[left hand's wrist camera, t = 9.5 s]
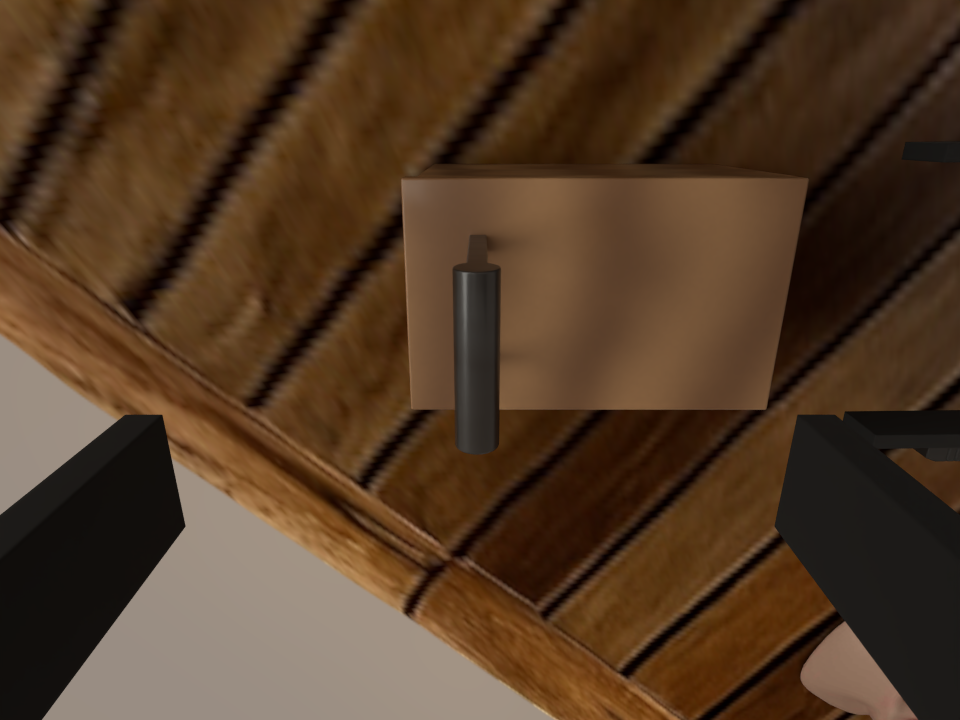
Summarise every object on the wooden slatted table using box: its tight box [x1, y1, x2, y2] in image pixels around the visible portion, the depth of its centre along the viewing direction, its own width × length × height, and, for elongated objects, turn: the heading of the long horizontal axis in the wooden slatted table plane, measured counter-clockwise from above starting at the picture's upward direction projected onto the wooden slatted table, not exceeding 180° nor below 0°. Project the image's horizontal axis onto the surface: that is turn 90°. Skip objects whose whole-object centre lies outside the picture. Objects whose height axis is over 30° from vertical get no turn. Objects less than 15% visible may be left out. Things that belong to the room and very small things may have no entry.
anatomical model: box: [800, 621, 918, 720], centre depth 44 cm, size 13×4×12 cm
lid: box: [401, 177, 809, 454], centre depth 22 cm, size 16×10×8 cm, turn 90°
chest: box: [417, 164, 797, 177], centre depth 30 cm, size 15×10×10 cm, turn 90°
